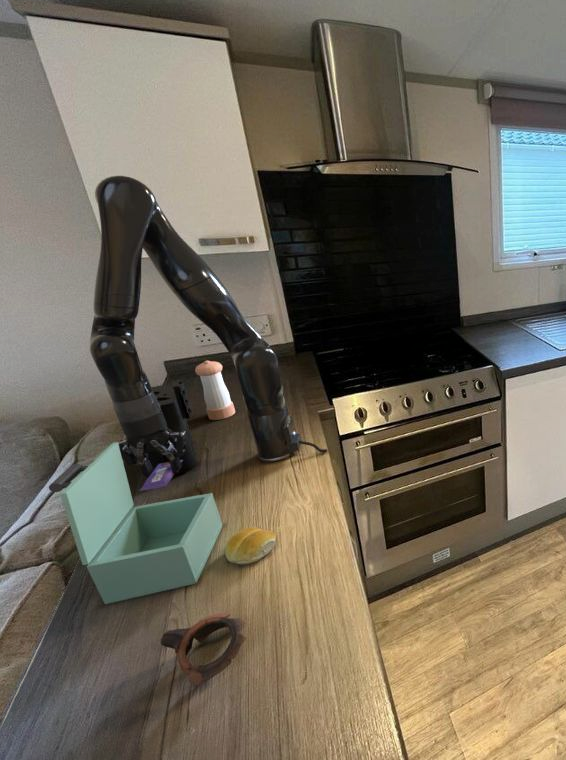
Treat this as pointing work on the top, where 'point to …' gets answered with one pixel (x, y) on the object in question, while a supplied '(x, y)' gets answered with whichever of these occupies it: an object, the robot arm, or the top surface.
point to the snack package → (159, 477)
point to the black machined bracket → (175, 422)
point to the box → (157, 548)
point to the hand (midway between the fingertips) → (164, 473)
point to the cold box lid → (95, 500)
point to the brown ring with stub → (200, 631)
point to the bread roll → (249, 545)
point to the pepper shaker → (215, 391)
